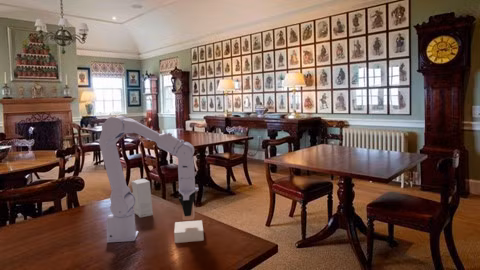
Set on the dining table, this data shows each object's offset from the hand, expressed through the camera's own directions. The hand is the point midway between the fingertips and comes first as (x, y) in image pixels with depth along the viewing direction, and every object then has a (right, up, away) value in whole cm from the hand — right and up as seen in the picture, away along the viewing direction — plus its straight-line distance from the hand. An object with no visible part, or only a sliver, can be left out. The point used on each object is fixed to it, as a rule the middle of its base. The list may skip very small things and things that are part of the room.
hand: (188, 213), depth 122 cm
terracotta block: (0, -2, 0) cm, 2 cm away
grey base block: (0, -9, +1) cm, 9 cm away
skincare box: (-23, -6, +25) cm, 35 cm away
